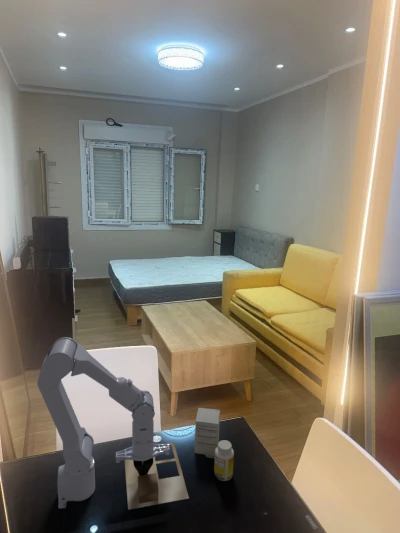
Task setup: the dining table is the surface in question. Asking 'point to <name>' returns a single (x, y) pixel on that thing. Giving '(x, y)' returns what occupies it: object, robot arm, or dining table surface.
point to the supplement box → (207, 431)
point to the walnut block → (148, 488)
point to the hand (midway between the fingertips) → (142, 478)
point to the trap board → (168, 487)
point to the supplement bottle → (224, 461)
